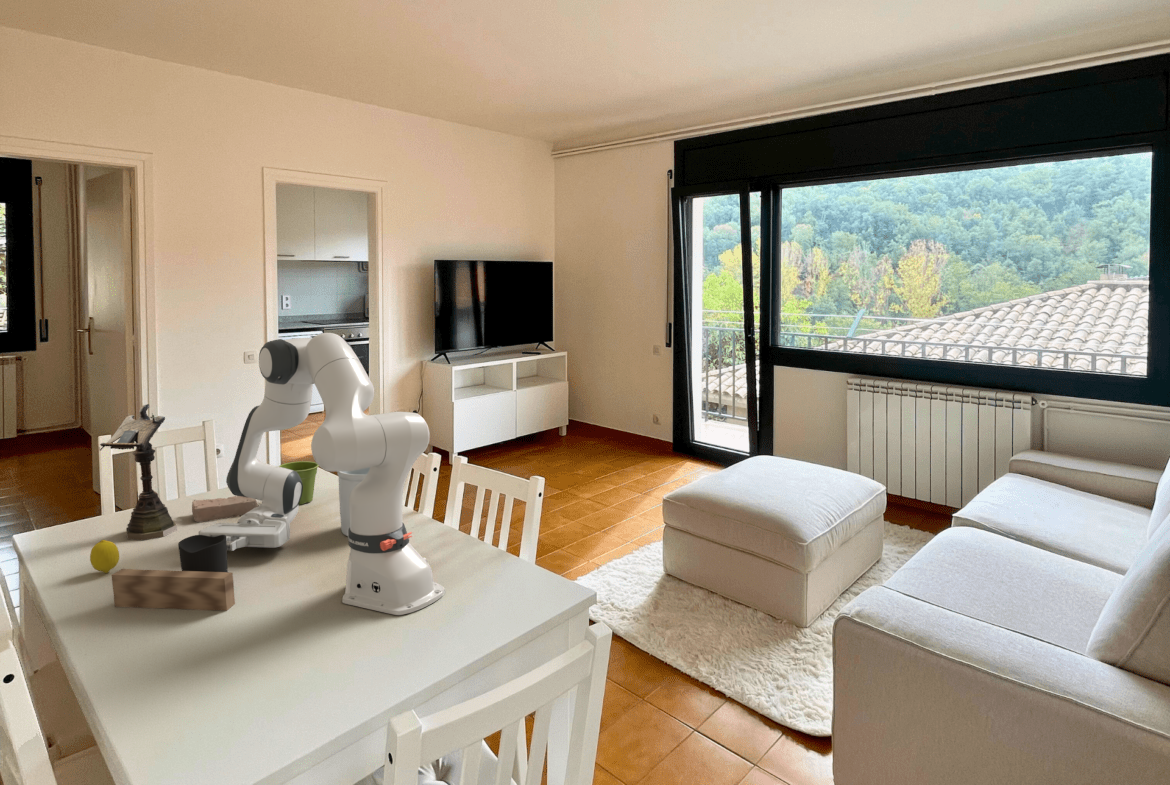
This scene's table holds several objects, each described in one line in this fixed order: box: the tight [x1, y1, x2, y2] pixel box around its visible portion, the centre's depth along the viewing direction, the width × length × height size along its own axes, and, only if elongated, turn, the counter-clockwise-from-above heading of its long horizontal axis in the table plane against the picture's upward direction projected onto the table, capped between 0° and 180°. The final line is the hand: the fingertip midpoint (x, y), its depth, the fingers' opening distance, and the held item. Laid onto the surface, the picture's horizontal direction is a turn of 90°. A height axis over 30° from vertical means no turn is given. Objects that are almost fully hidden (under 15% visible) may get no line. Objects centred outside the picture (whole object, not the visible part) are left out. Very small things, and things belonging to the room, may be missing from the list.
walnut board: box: [111, 568, 236, 611], centre depth 145 cm, size 24×3×7 cm, turn 87°
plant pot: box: [278, 460, 320, 506], centre depth 212 cm, size 12×12×11 cm
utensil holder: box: [336, 467, 370, 537], centre depth 189 cm, size 15×15×18 cm
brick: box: [191, 495, 259, 523], centre depth 201 cm, size 16×8×5 cm, turn 123°
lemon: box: [89, 539, 120, 574], centre depth 160 cm, size 6×6×8 cm
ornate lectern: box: [99, 403, 178, 541], centre depth 181 cm, size 17×13×35 cm
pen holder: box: [177, 534, 228, 572], centre depth 155 cm, size 9×9×10 cm
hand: (226, 547), depth 164 cm, fingers closed
